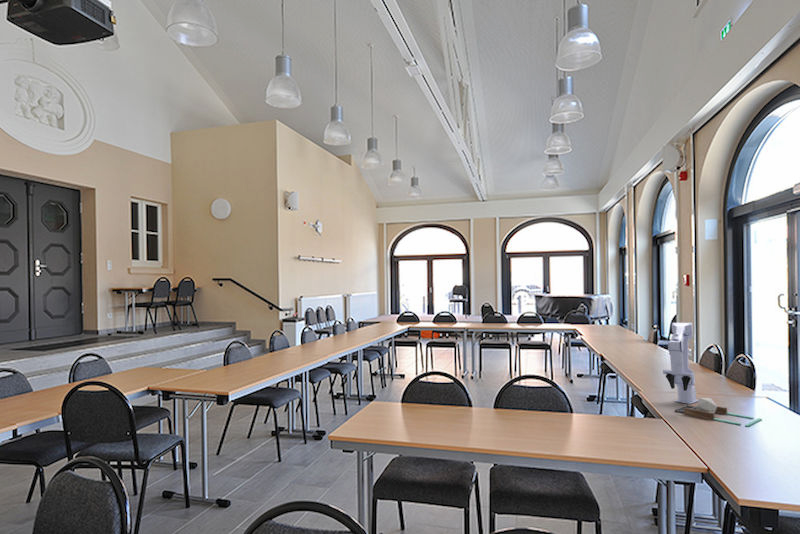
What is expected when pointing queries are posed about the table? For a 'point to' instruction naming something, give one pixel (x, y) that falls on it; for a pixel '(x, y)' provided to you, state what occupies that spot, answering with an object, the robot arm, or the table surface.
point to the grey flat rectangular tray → (683, 408)
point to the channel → (705, 414)
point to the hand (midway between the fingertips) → (679, 389)
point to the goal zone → (739, 416)
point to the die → (706, 405)
